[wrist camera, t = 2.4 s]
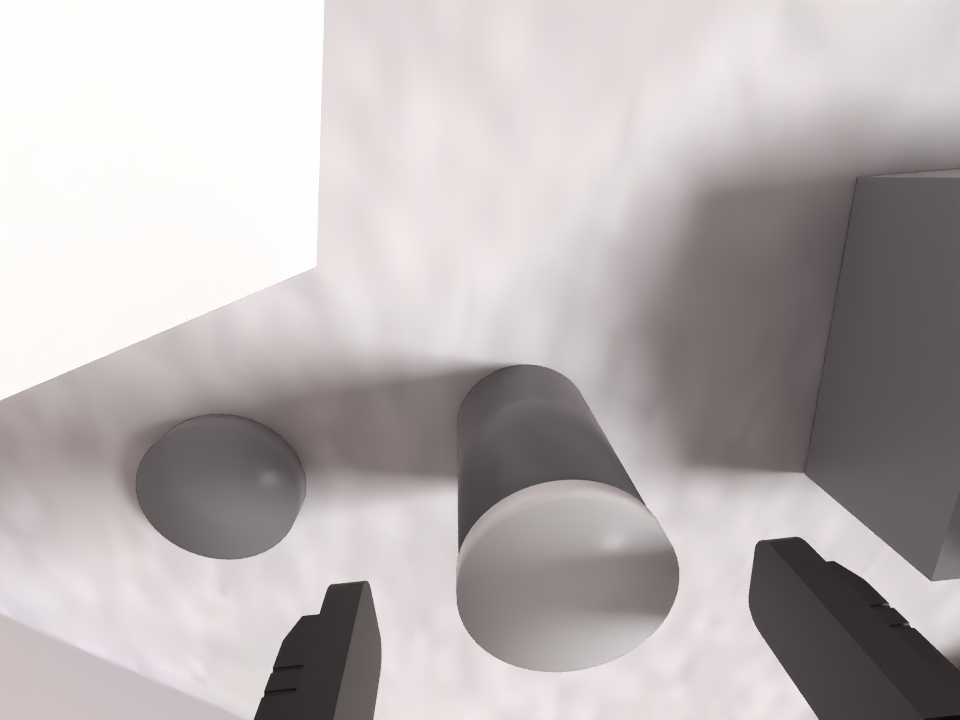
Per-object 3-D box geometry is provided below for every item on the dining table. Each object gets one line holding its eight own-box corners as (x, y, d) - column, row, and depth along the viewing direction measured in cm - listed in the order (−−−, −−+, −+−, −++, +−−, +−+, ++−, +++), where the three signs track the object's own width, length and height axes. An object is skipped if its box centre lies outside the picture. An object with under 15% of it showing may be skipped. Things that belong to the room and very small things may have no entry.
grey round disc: (136, 418, 16) (112, 436, 15) (290, 402, 16) (278, 419, 15) (183, 542, 18) (164, 566, 17) (321, 527, 18) (312, 551, 17)
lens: (448, 370, 16) (444, 511, 9) (589, 356, 16) (686, 487, 9) (462, 489, 17) (467, 682, 11) (589, 476, 17) (672, 660, 11)
